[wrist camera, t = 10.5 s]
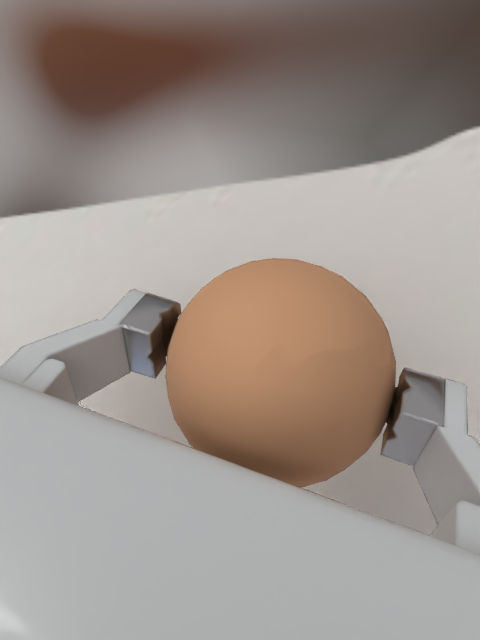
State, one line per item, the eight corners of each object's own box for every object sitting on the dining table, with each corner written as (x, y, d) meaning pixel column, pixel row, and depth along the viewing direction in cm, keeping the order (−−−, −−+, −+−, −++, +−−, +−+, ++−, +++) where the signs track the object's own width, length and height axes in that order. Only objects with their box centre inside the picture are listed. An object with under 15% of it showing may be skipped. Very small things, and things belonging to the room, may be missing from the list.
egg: (215, 287, 19) (104, 222, 10) (379, 283, 17) (423, 200, 8) (213, 447, 18) (92, 533, 9) (382, 456, 17) (434, 567, 8)
